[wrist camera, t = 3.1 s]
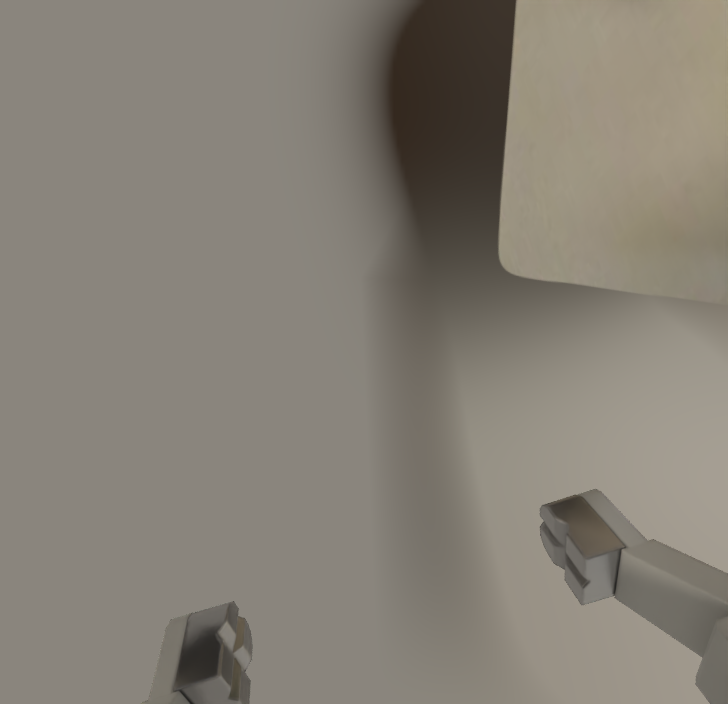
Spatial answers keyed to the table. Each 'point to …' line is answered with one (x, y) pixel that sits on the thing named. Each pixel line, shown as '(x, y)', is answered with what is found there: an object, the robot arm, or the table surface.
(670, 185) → the table surface
